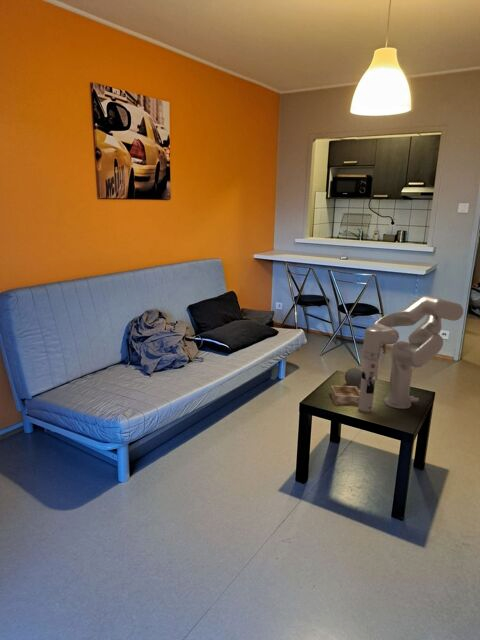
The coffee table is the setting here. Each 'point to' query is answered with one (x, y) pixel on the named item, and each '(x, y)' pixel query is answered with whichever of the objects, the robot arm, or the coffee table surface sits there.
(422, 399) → the coffee table surface
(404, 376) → the robot arm
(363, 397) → the travel mug
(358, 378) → the decorative ball
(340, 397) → the open box
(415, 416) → the coffee table surface
